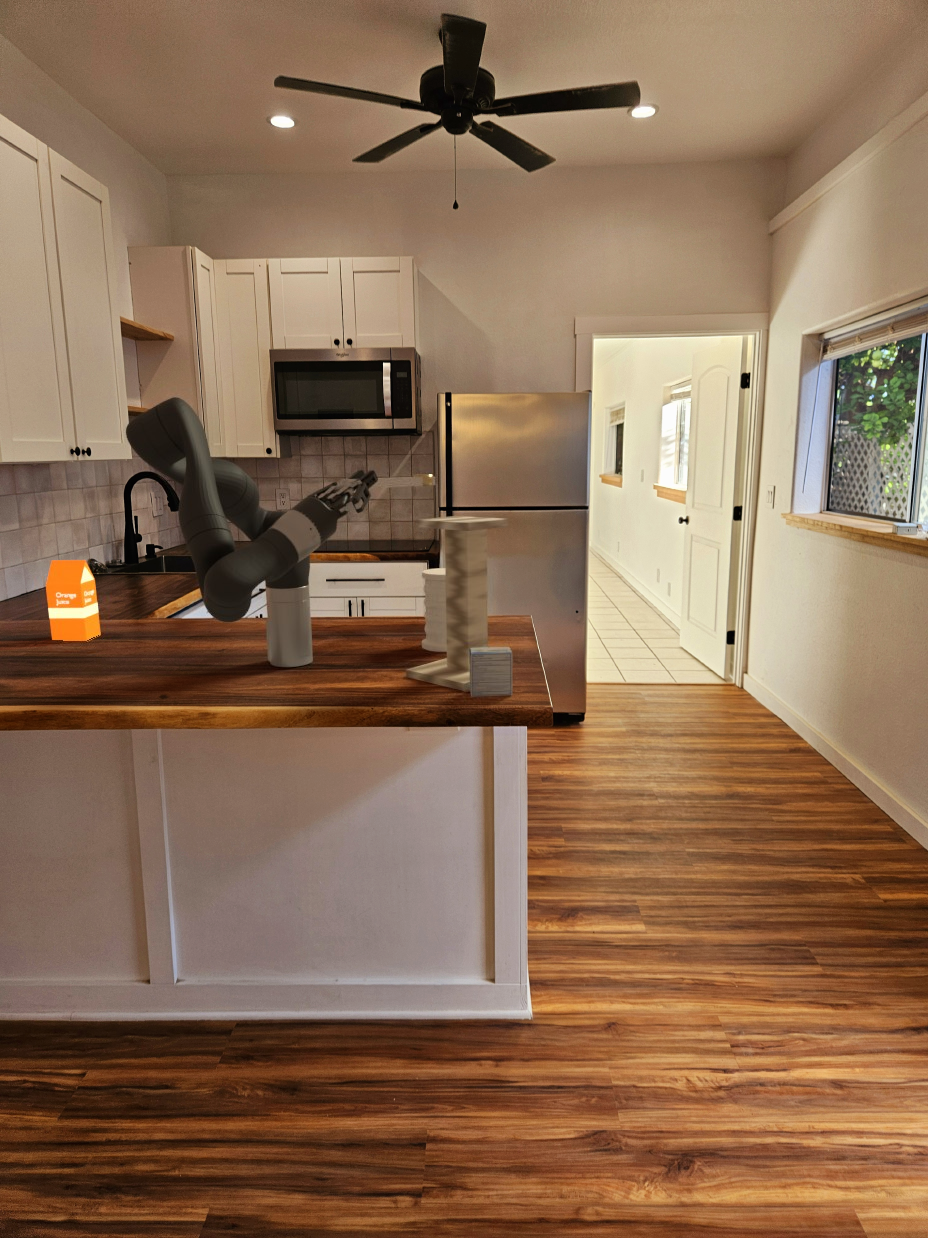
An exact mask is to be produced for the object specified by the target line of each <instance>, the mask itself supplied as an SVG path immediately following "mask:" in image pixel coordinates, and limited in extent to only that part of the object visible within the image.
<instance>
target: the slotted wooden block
mask: <svg viewBox="0 0 928 1238" xmlns="http://www.w3.org/2000/svg"><path fill="white" fill-rule="evenodd" d="M358 480H359V479H348V478H347V479H346V478H344V479H343V478H342V479H339V481H340V482H339V483H340V489H342V488H343V487H345V486H351V485H352V484H353V483H355V482H356V481H358ZM423 486H424V487H426V486H427V487H430V486H436V476H434V474H429V473H428V474H422V473H420V474H413V476H403V477H401V476H400V477H399V476H398V477H378V481H377V482H376V483H375V484H374V485H372V486H371V487H370V488H369V489H381V488H382V489H383V488H401V487H405V488H409V487H423ZM356 489H357V488H356Z"/></svg>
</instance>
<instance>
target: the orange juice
mask: <svg viewBox="0 0 928 1238" xmlns="http://www.w3.org/2000/svg"><path fill="white" fill-rule="evenodd" d="M49 565H50V566H49V570H48V575H47V578H46V579H47V580H46V584H45V589H46V590H45V591H46V599H47V606H48V608H47V610H48V618H49V623H50V633H51V634H50V635H51V639H52V640H63V641H87V640H89V639H91V638H93V637H95V638H97V637H99V636H101V626H100V616H99V606H98V605H99V603H98V599H97V589H96V588H97V587H96V580H95V577H94V575H93V573H92V570H91V569H90V567H89V565H88V562H87V561H86V559H60V560H59V559H57V560H54V559H52V560H51V563H50V564H49ZM98 635H99V636H98ZM96 636H97V637H96ZM93 639H94V638H93ZM52 640H51V641H52ZM91 640H92V639H91ZM89 641H90V640H89ZM87 642H88V641H87Z"/></svg>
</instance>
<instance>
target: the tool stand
mask: <svg viewBox="0 0 928 1238" xmlns="http://www.w3.org/2000/svg"><path fill="white" fill-rule="evenodd" d="M415 523H416V524H415V526H416V527H415V528H420V529H436V530H437V529H438V530H444V553H445V554H444V555H445V557H444V559H445V560H444V561H445V565H444V566H445V567H444V568H445V572H446V634H447V652H446V657H445V658H443V659H439V660H436V661H431V662H428V663H425V664H421V665H418V666H413V667H410V668H407V669H405V677H406V678H410V679H414V680H418V681H423V682H426V683H429V684H433V685H434V684H435V685H438V686H442V687H446V688H451V689H454V690H458V691H459V690H460V691H463V692H466V691H469V690H470V667H469V649H470V648H480V647H489V646H488V641H489V640H488V636H489V635H488V633H489V632H488V530H489V529H497V528H505V527H506V528H507V527H509V525H510V524H509V523H510V519H509V518H503V517H501V518H499V517H480V516H468V515H467V516H465V515H464V516H463V515H462V516H461V515H452V516H451V515H450V516H441V517H432V518H419V519H416V521H415Z"/></svg>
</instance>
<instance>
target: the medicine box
mask: <svg viewBox="0 0 928 1238" xmlns="http://www.w3.org/2000/svg"><path fill="white" fill-rule="evenodd" d="M469 667H470V689H469V690H470V691H469V692H470V697H471V698H474V697H475V698H477V697H502V696H504V697H505V696H513V651H512V650H511V648H510V647H509V646H488V647H480V648H470V649H469Z"/></svg>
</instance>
